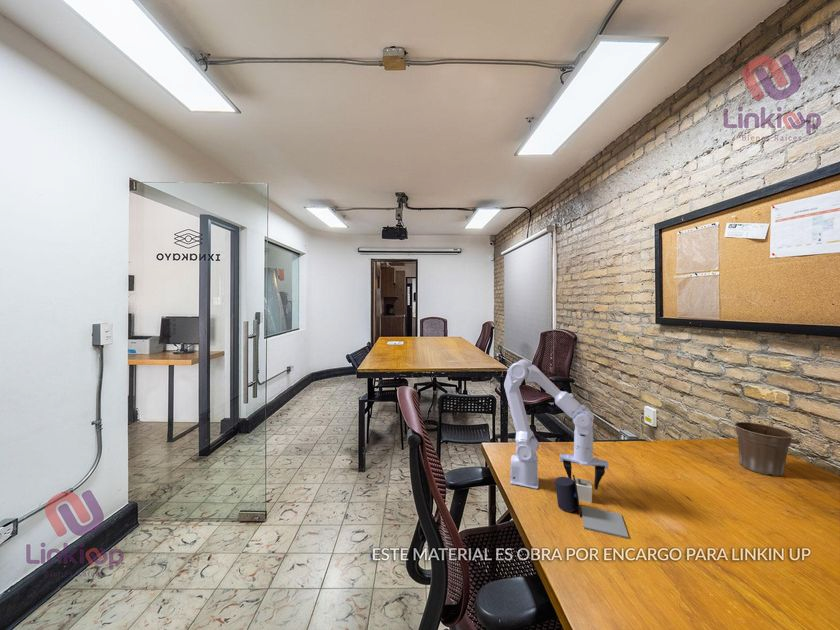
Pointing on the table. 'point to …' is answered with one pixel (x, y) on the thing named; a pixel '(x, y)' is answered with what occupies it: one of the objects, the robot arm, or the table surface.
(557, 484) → the speaker
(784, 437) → the plant pot
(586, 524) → the pad
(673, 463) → the table surface
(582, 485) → the letter cube
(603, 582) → the table surface
